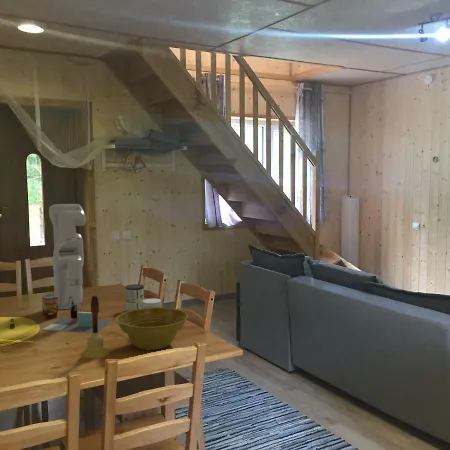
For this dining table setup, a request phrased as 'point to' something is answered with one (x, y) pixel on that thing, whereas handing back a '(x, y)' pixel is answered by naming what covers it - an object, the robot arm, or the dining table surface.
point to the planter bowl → (152, 326)
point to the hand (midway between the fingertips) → (75, 316)
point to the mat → (74, 327)
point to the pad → (55, 327)
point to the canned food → (50, 306)
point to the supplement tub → (151, 303)
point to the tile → (85, 319)
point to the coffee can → (134, 297)
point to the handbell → (95, 336)
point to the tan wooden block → (77, 313)
